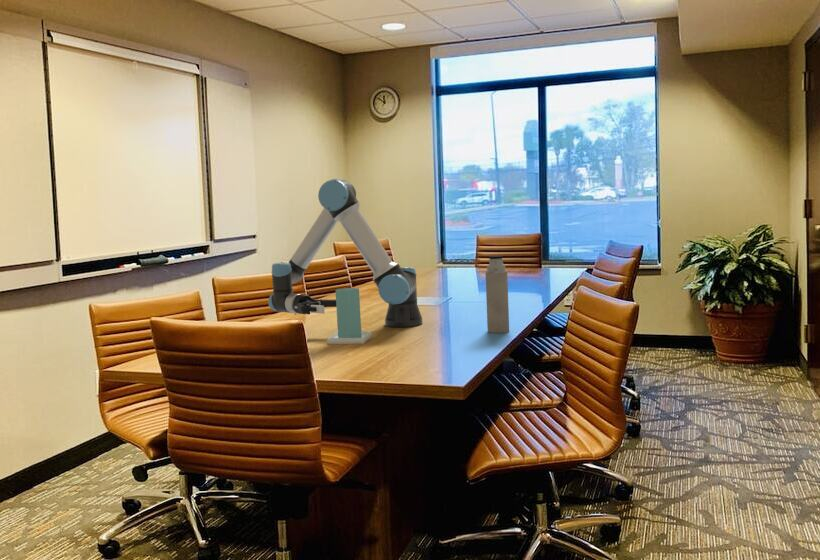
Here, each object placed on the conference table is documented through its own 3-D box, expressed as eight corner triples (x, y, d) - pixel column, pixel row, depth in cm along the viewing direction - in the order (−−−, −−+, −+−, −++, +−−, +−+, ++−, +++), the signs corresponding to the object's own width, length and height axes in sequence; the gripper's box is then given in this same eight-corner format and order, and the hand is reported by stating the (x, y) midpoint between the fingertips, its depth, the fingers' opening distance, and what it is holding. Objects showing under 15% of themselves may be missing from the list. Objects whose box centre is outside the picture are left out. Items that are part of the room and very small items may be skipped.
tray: (371, 336, 276) (371, 331, 276) (363, 343, 263) (363, 338, 263) (337, 337, 278) (337, 331, 278) (327, 344, 265) (327, 338, 265)
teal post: (338, 338, 270) (335, 289, 269) (350, 336, 275) (347, 287, 273) (349, 340, 266) (346, 290, 265) (361, 337, 271) (358, 288, 269)
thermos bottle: (491, 328, 281) (489, 255, 278) (512, 329, 277) (509, 254, 274) (484, 332, 274) (481, 256, 271) (505, 333, 270) (502, 256, 267)
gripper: (324, 309, 297) (361, 312, 283) (274, 318, 278) (312, 322, 264) (323, 290, 296) (360, 292, 282) (273, 298, 277) (310, 301, 263)
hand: (337, 307), depth 273 cm, fingers open, 13 cm apart
